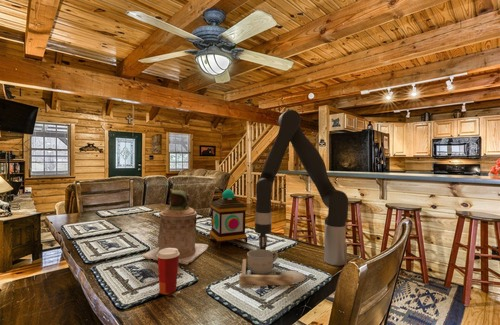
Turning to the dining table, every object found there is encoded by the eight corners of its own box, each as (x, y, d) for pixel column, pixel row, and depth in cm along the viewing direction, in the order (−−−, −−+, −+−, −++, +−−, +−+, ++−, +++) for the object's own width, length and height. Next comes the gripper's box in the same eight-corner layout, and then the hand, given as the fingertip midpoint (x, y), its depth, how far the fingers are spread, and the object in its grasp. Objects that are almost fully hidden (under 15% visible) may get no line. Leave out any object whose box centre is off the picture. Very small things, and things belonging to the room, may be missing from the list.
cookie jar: (190, 265, 111) (190, 192, 111) (139, 260, 116) (140, 190, 116) (210, 247, 135) (210, 187, 135) (167, 243, 140) (168, 185, 140)
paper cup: (181, 285, 93) (181, 247, 93) (176, 296, 85) (176, 254, 85) (160, 285, 93) (160, 247, 93) (152, 296, 85) (153, 254, 85)
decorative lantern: (206, 238, 150) (206, 187, 150) (237, 234, 158) (237, 186, 158) (216, 249, 132) (217, 191, 132) (250, 244, 140) (251, 190, 140)
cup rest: (286, 266, 111) (286, 259, 111) (292, 285, 94) (292, 277, 94) (241, 265, 111) (241, 258, 111) (239, 284, 94) (239, 276, 94)
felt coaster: (302, 271, 106) (302, 270, 106) (307, 283, 96) (307, 282, 96) (278, 271, 106) (278, 270, 106) (281, 282, 96) (281, 281, 96)
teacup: (251, 279, 99) (251, 258, 99) (243, 267, 109) (244, 249, 109) (284, 274, 103) (284, 255, 103) (273, 264, 113) (274, 246, 113)
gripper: (272, 225, 108) (271, 265, 109) (270, 218, 122) (269, 254, 122) (255, 225, 109) (254, 265, 109) (255, 218, 122) (254, 254, 122)
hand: (262, 259), depth 115 cm, fingers closed
